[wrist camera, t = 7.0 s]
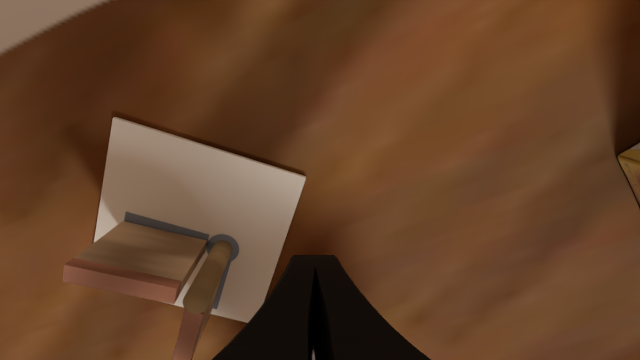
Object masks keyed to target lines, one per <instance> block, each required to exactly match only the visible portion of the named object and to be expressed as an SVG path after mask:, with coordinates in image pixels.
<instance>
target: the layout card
mask: <svg viewBox="0 0 640 360" xmlns="http://www.w3.org/2000/svg"><path fill="white" fill-rule="evenodd" d="M305 180H306V176H304V175H301V174H297V173H294V172H291V171H288V170H285V169H281V168H278V167H275V166H272V165H269V164H265V163H262V162H259V161H256V160H253V159H249V158H246V157H243V156H240V155H237V154H233V153H230V152H227V151H224V150H221V149H217V148H214V147H211V146H208V145H205V144H201V143H198V142H195V141H192V140H189V139H186V138H182V137H179V136H176V135H173V134H170V133H166V132H163V131H160V130H157V129H154V128H150V127H147V126H144V125H141V124H138V123H134V122H131V121H128V120H125V119H122V118H118V117H113V120H112V126H111V133H110V140H109V146H108V153H107V159H106V166H105V172H104V179H103V186H102V192H101V199H100V205H99V212H98V218H97V225H96V232H95V238H94V242H96V241H97V240H98V239H100V238H101V237H102V236H104V235H105V234H106V233H108V232H109V231H110V230H112V229H113V228H114V227H115V226H117V225H118V224H119V223H121V222H122V221H125V222H130V223H134V224H138V225H143V226H147V227H151V228H156V229H160V230H164V231H168V232H173V233H177V234H181V235H186V236H190V237H194V238H199V239H203V240H207V244H206V249H205V252H204V254H203V256H202V257H201V259H200V261H199V263H198V264H197V266H196V268H195V269H194V271H193V273H192V274H191V276H190V278H189V279H188V281H187V283H186V284H185V286H184V288H183V289H182V291H181V293H180V294H179V297H178V298H177V300H176V302H175V303H174V304H172V305H176V306H180V307H184V306H183V298H184V296H185V295H186V293H187V291H188V289H189V288H190V286H191V284H192V282H193V281H194V279H195V277H196V275H197V274H198V272H199V270H200V268H201V267H202V265H203V263H204V261H205V259H206V258H207V256H208V254H209V252H210V251H211V249H212V247H213V245H214V244H215V243H216V242H217V241H220V240H224V241H227V242H229V243H230V244H231V246H232V249H233V250H232V253H231V256H230V258H229V260H228V262H227V265H226V267H225V269H224V272H223V274H222V277H221V280H220V284H219V287H218V291H217V294H216V298H215V301H214V305H213V308H212V311H211V313H210V314H213V315H217V316H222V317H226V318H230V319H234V320H238V321H242V322H246V323H248V322H249V321H250V320H251V319H252V317H253V316H254V315H255V314H256V312H257V311H258V310H259V308H260V307H261V306H262V304H263V303H264V300H265V297H266V294H267V291H268V288H269V285H270V283H271V280H272V277H273V274H274V271H275V268H276V265H277V262H278V259H279V256H280V253H281V250H282V247H283V244H284V241H285V239H286V236H287V233H288V230H289V227H290V224H291V221H292V218H293V215H294V212H295V209H296V206H297V203H298V200H299V197H300V194H301V192H302V189H303V186H304V183H305ZM164 303H165V302H164ZM168 304H170V303H168Z"/></svg>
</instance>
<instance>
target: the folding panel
mask: <svg viewBox="0 0 640 360" xmlns="http://www.w3.org/2000/svg"><path fill="white" fill-rule="evenodd" d="M206 244H207V240H203V239H199V238H194V237H190V236H186V235H181V234H177V233H173V232H168V231H164V230H160V229H156V228H151V227H147V226H143V225H138V224H134V223H130V222H125V221H122V222H121V223H119V224H118V225H117V226H115V227H114V228H113V229H112V230H110V231H109V232H108V233H106V234H105V235H104V236H102V237H101V238H100V239H98V240H97V241H96V242H94V243H93V244H92V245H91V246H89V247H88V248H87V249H85V250H84V251H83V252H81V253H80V254H79V255H77V256H76V257H75V258H72V259H71V260H70V261H68V262H67V263H66V264H64V272H63V282H68V283H72V284H77V285H82V286H87V287H92V288H97V289H102V290H107V291H111V292H116V293H121V294H126V295H131V296H136V297H141V298H146V299H150V300H155V301H160V302H165V303H170V304H174V303H175V302H176V300H177V298H178V297H179V294H180V293H181V291H182V289H183V288H184V286H185V284H186V283H187V281H188V279H189V278H190V276H191V274H192V273H193V271H194V269H195V268H196V266H197V264H198V263H199V261H200V259H201V257H202V256H203V254H204V252H205V249H206Z"/></svg>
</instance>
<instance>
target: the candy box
mask: <svg viewBox="0 0 640 360" xmlns="http://www.w3.org/2000/svg"><path fill="white" fill-rule="evenodd" d="M618 160H619V162H620V164H621V167H622V169H623V170H624V172H625V174H626V176H627V178H628V180H629V182H630V185H631V187H632V189H633V191H634V193H635V196H636V198H637V200H638V202H639V205H640V142H639V143H638V144H636V145H635V146H633V147H632V148H630V149H628V150H626V151H625V152H623V153H621V154H619V155H618Z"/></svg>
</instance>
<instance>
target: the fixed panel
mask: <svg viewBox="0 0 640 360" xmlns="http://www.w3.org/2000/svg"><path fill="white" fill-rule="evenodd" d="M232 250H233V249H232V246H231V244H230V243H229V242H227V241H224V240H220V241H217V242H216V243H215V244H214V245H213V247H212V249H211V251H210V252H209V254H208V256H207V258H206V259H205V261H204V263H203V265H202V267H201V268H200V270H199V272H198V274H197V275H196V277H195V279H194V281H193V282H192V284H191V286H190V288H189V289H188V291H187V293H186V295H185V296H184V298H183V306H184V308H185V311H184V315H183V319H182V323H181V327H180V331H179V335H178V338H177V342H176V346H175V350H174V354H173V358H172V360H192V358H193V354H194V352H195V350H196V347H197V345H198V342H199V340H200V338H201V335H202V333H203V330H204V328H205V325H206V323H207V321H208V318H209V316H210V313H211V311H212V308H213V305H214V301H215V298H216V294H217V291H218V287H219V284H220V280H221V277H222V274H223V272H224V269H225V267H226V265H227V262H228V260H229V258H230V256H231V253H232Z"/></svg>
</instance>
